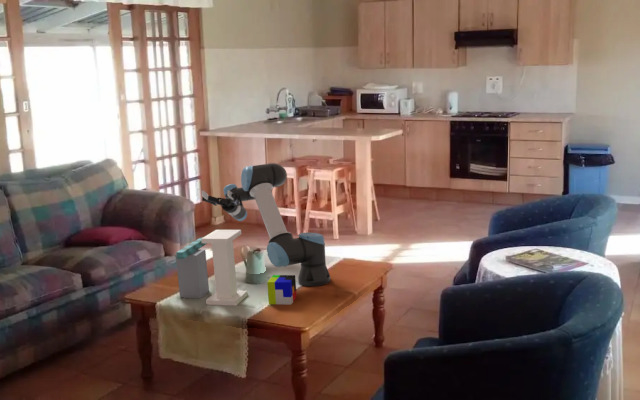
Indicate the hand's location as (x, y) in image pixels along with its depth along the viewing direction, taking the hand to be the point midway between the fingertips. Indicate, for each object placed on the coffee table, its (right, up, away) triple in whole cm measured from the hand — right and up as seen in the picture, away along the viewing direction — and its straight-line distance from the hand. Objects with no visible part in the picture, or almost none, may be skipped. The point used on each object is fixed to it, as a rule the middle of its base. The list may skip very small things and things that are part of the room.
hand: (215, 192), depth 339 cm
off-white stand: (+10, -48, -30) cm, 57 cm away
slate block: (-6, -47, -20) cm, 51 cm away
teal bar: (-7, -27, -22) cm, 35 cm away
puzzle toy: (+35, -48, -35) cm, 69 cm away
